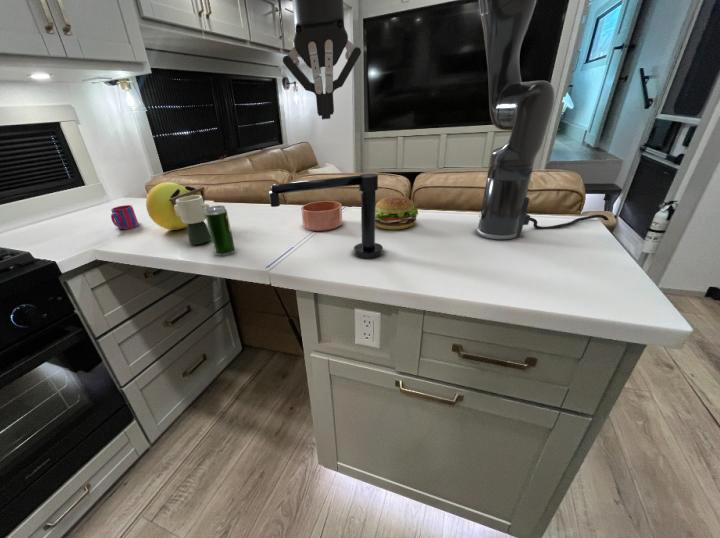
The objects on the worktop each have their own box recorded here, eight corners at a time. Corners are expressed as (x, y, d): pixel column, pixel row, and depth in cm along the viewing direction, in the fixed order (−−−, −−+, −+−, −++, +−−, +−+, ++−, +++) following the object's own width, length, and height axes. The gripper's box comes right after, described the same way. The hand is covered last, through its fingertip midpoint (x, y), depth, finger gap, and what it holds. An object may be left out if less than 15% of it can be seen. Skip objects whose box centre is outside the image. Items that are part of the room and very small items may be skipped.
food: (368, 218, 106) (368, 192, 102) (413, 216, 103) (415, 190, 99) (368, 232, 94) (368, 204, 90) (419, 231, 92) (421, 202, 88)
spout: (374, 192, 76) (374, 172, 74) (379, 196, 73) (380, 175, 70) (270, 203, 74) (267, 183, 72) (270, 208, 71) (267, 187, 68)
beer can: (219, 257, 86) (207, 212, 80) (212, 252, 90) (201, 208, 84) (238, 252, 88) (228, 207, 82) (231, 247, 92) (221, 204, 86)
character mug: (223, 238, 99) (212, 194, 93) (212, 246, 93) (200, 200, 87) (190, 238, 102) (178, 195, 95) (178, 247, 96) (164, 201, 89)
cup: (142, 223, 121) (136, 204, 117) (124, 232, 112) (116, 212, 109) (126, 223, 122) (119, 205, 119) (107, 232, 114) (99, 213, 110)
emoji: (182, 238, 102) (167, 188, 95) (143, 235, 108) (126, 188, 100) (212, 222, 115) (201, 177, 107) (177, 220, 120) (164, 177, 113)
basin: (342, 218, 108) (341, 199, 105) (342, 230, 97) (342, 210, 94) (305, 220, 108) (303, 202, 105) (301, 233, 98) (299, 213, 95)
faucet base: (380, 247, 84) (382, 186, 76) (384, 258, 78) (386, 193, 70) (353, 248, 85) (351, 188, 77) (354, 259, 79) (353, 195, 71)
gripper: (266, -16, 45) (286, 125, 55) (363, -30, 44) (365, 117, 54) (275, -6, 51) (291, 119, 61) (360, -18, 50) (363, 112, 60)
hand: (326, 118), depth 57 cm, fingers closed
